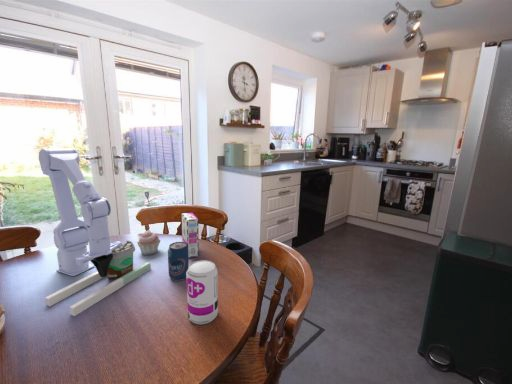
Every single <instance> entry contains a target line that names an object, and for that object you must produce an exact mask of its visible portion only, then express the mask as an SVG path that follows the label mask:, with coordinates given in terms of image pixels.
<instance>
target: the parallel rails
mask: <svg viewBox="0 0 512 384" xmlns="http://www.w3.org/2000/svg"><path fill="white" fill-rule="evenodd" d="M151 269H152V268H151V262H148V261H147V262H144V263H143V264H142V265H139V266H137V267H136V268H135V269H134V268H133V271H131V272H129V273H127V274H126V275H124V276H122V277H120V278H118V279H114V281H112V282H110V283H108V284H107V285H105V286H104V287H101V288H100V289H98V290H96V291H95V292H92V293H91V294H90V295H87V296H85V297H84V298H82V299H81V300H79V301H77V302H75V303H74V304H72V305H70V306H69V311H70V315H71V316H73V317H76V316H78V315H79V314H80V313H82V312H84V311H85V310H87V309H88V308H89V309H90V307H92V306H94V305H95V304H96V303H98V302H100V301H102V300H103V299H104V298H105V299H106V297H108V296H110V295H111V294H112V293H114V292H117V291H118V290H119V289H121V288H123V287H124V286H125V285H127V284H129V283H130V282H132V281H134V280H135V279H137V278H138V277H140V276H142V275H143V274H146V273H147V272H149V270H151ZM107 276H108V274H107ZM103 278H105V277H101V276H100V275H99V273H98V271H97V270H96V271H95V272H93V273H91V274H89V275H87V276H85V277H83V278H81V279H79V280H77V281H76V282H73V283H71V284H69V285H67V286H65V287H63V288H61V289H59V290H57V291H55V292H53V293H51V294H49V295H47V296H45V297H44V298H45V299H44V300H45V304H46V306H48V307H51V306H53V305H55V304H57V303H59V302H61V301H62V300H64V299H66V298H69V297H70V296H71V295H74V294H76V293H77V292H79V291H81V290H83V289H86V288H87V287H88V286H90V285H92V284H94V283H96V282H98V281H100V280H102V279H103Z"/></svg>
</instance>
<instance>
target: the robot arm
mask: <svg viewBox="0 0 512 384" xmlns="http://www.w3.org/2000/svg"><path fill="white" fill-rule="evenodd" d="M38 162H39V165H40V168H41V172H42V174H43V175H46V176H48V177H49V180H50V183H51V188H52V190H53V195H54V199H55V203H56V206H57V211H58V215H59V219H60V223H59V224H58V225H56V226H55V228H53V231H52V233H53V241H54V243H53V244H54V246H55V247H56V248H57V249H58V250H57V252H56V258H57V266H58V268H57V269H56V272H58V273H61V274H65V275H67V276H71V277H75V276H76V277H77V276H78V275H80V274H82V273H84V272H86V271H89V270H90V269H92V268H94V267H95V269H96V272H97V271H98V273H99V275H100V276H101V277H104V278H106V277H108V275H107V272H108V267H109V264H110V262H111V260H112V258H113V254H111V253H112V251H113V250H115V249H117V248H122V245H123V242H122V241H119V240H118V241H115V242H112V243H111V238H110V229H109V220H108V216H110V215H111V212H112V209H111V204H110V202H109V200H108V199H107V198H106V197H105V198H104V196H102V195H101V196H100V194H99V193H98V191H97V189H96V188H95V186H94V184H93V183H92V182H91V181H89V180H88V181H87V180H86V178H85V176H84V174H83V172H82V170H81V168H80V153H79V151H78V150H77V149H76V148H74V147H70V148H68V147H67V148H41V149H40V150H39V151H38ZM69 181H70V182H69ZM70 183H71V184H72V188H71V186H70ZM71 189H72V190H71ZM72 193H73V194H74V196H75V199H76V200H77V201H78V203H79V204H80V213H81V217H82V218H83V220H82V219H79V218H78V214H77V211H76V206H75V202H74V197H73V194H72ZM87 247H88V248H89V250H88V248H87ZM89 262H91V263H92V264H91V263H89Z"/></svg>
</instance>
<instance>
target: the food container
mask: <svg viewBox="0 0 512 384" xmlns="http://www.w3.org/2000/svg"><path fill="white" fill-rule="evenodd" d="M135 251H136V248H135V244H134V243H133V242H132V240H131V241H130V240H126V242H125V243H124V244H122V248H117V249H115V250H113V251H112V253H111V254H113V258H112V260H111V262H110V264H109V267H108V272H107V274H108V275H107V279H108V280H117V279H119V278H120V277H122V276H124V275H126V274H127V273H129V272H131V271H133V270H134V252H135Z"/></svg>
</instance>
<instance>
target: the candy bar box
mask: <svg viewBox="0 0 512 384" xmlns="http://www.w3.org/2000/svg"><path fill="white" fill-rule="evenodd" d="M181 239H182V241H181V242H184V243H186V246H187V247H188V254H189V259H190V258H191V259H192V258H197V257H199V256H200V255H199V253H200V252H199V248H200V247H199V246H200V245H199V243H200V242H199V218H198V217H197V216H196V215H195V214H194V213H193V212H183V213H181Z"/></svg>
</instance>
